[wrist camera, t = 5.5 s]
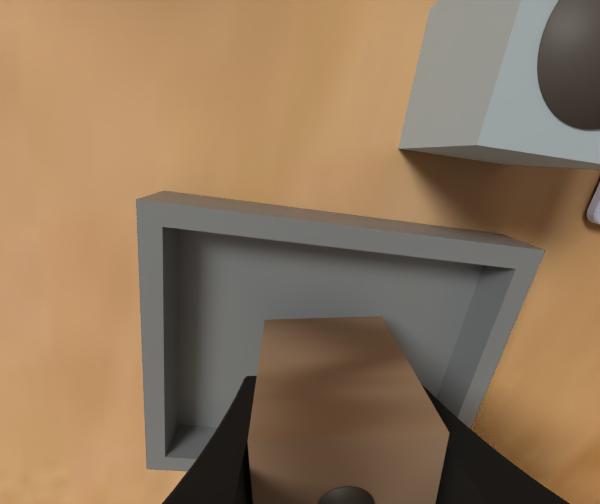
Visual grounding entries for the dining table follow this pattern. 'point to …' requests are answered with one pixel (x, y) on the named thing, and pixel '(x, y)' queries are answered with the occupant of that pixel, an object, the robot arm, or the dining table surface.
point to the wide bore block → (509, 83)
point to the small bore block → (341, 417)
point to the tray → (308, 302)
